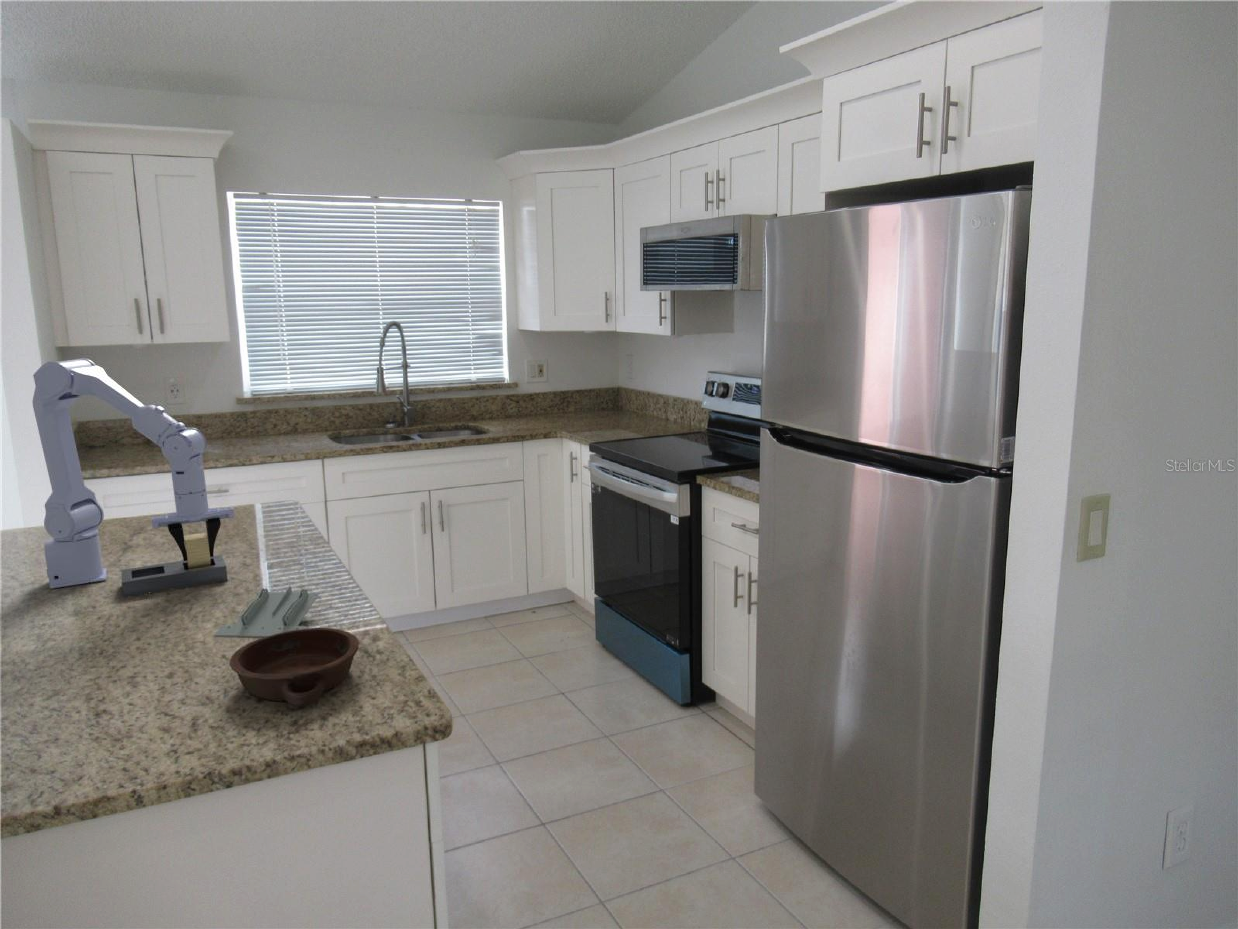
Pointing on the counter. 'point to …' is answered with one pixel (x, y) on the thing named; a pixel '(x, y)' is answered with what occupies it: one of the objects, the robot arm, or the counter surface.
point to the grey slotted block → (171, 576)
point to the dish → (295, 664)
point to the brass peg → (197, 550)
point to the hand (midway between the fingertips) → (198, 557)
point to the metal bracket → (271, 614)
